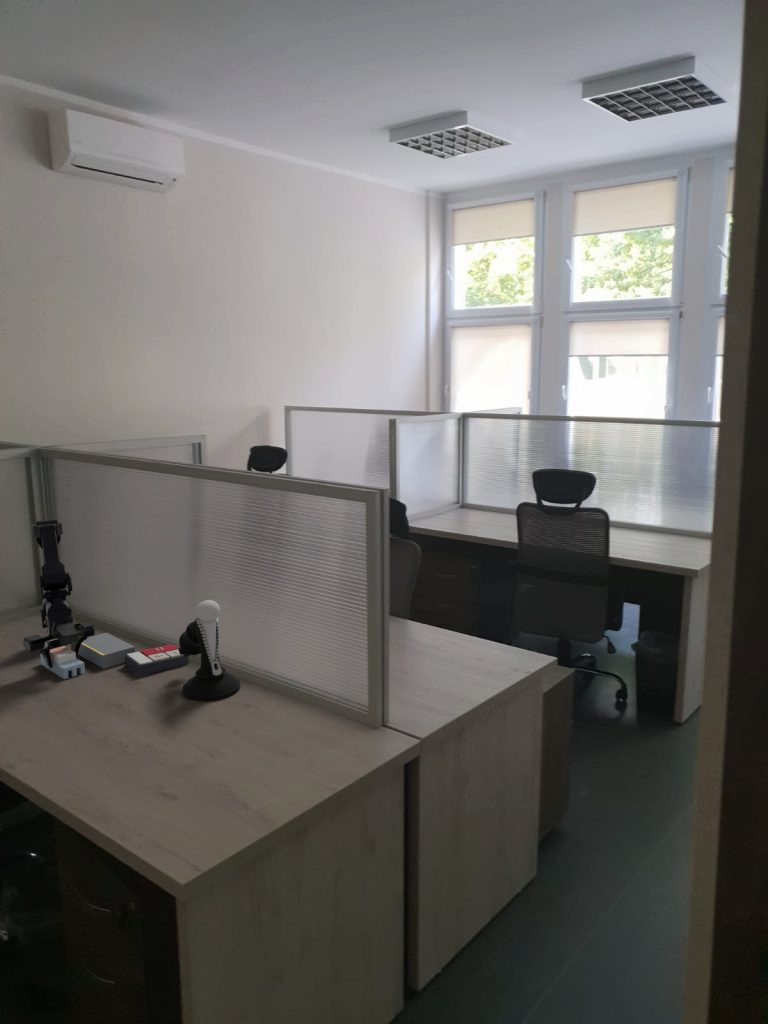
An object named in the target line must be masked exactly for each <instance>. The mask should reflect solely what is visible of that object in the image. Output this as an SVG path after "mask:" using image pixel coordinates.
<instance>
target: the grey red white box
mask: <svg viewBox="0 0 768 1024" xmlns="http://www.w3.org/2000/svg"><path fill="white" fill-rule="evenodd" d="M179 648H180V647H177V646H175V645H174V644H166V645H163V646H162V645H161V646H157V647H153V648H152V647H151V648H146V649H141V650H140V651H135V652H134V653H129V654H127V655H125V663H124V666H125V667H126V669H128V670H130V672H132V673H133V674H135V675H136V676H138V677H139V678H140V677H145V676H148V675H152V674H155V673H157V672H164V671H166V670H167V671H168V670H170V669H174V668H178V667H182V666H185V665H189V664H190V661H189V657H190V656H187V657H185V656H184V655H180V653H179Z"/></svg>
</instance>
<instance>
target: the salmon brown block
mask: <svg viewBox="0 0 768 1024" xmlns="http://www.w3.org/2000/svg"><path fill="white" fill-rule="evenodd" d="M69 649H70V648H69V647H67V645H61V646H57V647H53V648H52V649H50V656H51V660H53V654H54V653H57V652H61V651H65V650H69ZM53 661H54V660H53Z"/></svg>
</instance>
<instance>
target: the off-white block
mask: <svg viewBox="0 0 768 1024" xmlns="http://www.w3.org/2000/svg"><path fill="white" fill-rule="evenodd" d="M53 660H54V662H56V663H58V664H62V663H65V662H69V661H72V660H76V653H75V652H74V651H72V650H71V648H69V650H65V651H61V652H57V653H54V654H53Z"/></svg>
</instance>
